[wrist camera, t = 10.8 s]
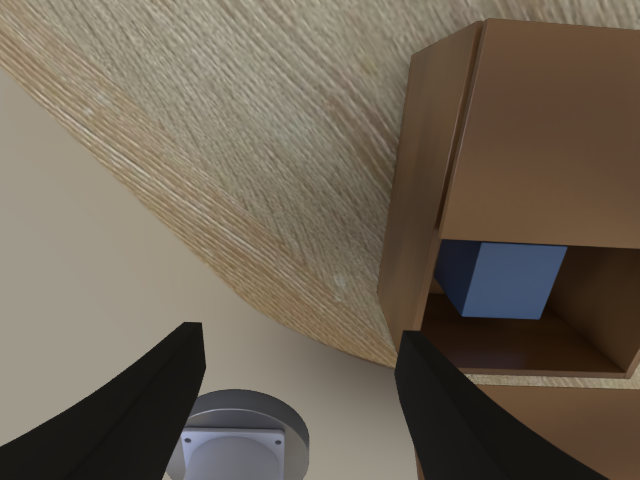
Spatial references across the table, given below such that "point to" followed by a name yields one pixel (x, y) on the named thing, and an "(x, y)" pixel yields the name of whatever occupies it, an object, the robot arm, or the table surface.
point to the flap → (579, 423)
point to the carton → (522, 193)
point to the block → (498, 277)
